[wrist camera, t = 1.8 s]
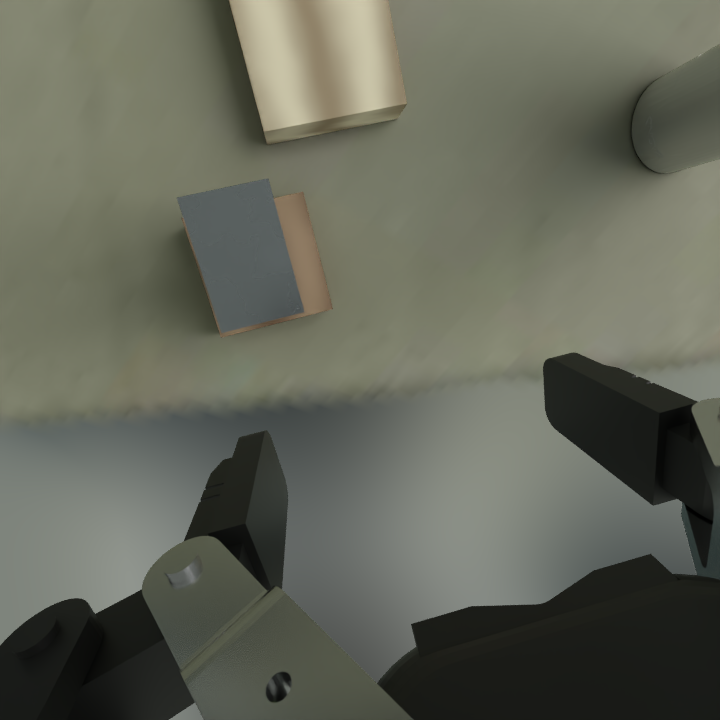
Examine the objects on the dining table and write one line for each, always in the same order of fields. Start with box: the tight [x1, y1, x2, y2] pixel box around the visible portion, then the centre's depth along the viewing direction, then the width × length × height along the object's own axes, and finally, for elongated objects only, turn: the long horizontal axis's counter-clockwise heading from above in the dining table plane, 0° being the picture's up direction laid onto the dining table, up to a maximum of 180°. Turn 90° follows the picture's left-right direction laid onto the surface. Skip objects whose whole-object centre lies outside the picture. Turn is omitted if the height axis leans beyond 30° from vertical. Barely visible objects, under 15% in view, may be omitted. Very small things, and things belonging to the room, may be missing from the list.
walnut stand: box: [182, 192, 333, 337], centre depth 33 cm, size 10×10×3 cm
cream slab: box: [229, 0, 407, 145], centre depth 31 cm, size 12×12×3 cm
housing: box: [177, 179, 304, 333], centre depth 27 cm, size 5×8×11 cm, turn 14°
